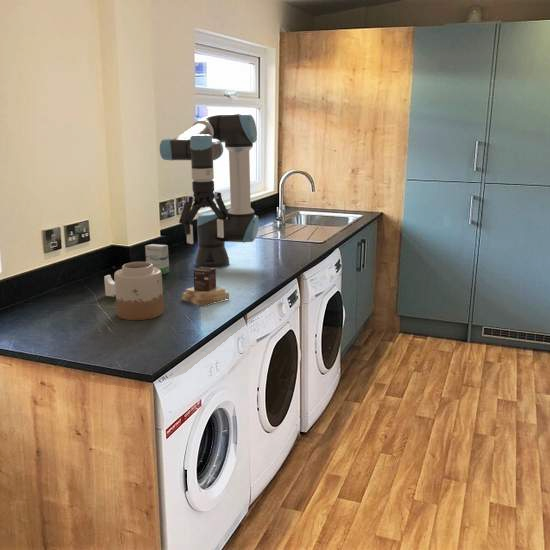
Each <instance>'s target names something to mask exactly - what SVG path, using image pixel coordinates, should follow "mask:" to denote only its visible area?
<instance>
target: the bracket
mask: <svg viewBox="0 0 550 550" xmlns="http://www.w3.org/2000/svg"><path fill="white" fill-rule="evenodd" d="M103 279H104V290H105V296H106V297H116V292H115V280H113V278H112V276H111V274H107V275H105V276H103Z"/></svg>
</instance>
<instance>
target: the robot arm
mask: <svg viewBox="0 0 550 550" xmlns="http://www.w3.org/2000/svg"><path fill="white" fill-rule="evenodd" d="M257 136H258V130H257V124H256V122H255V119H254V117H253V116H252V115H251V114H250V113H243V112H240V113H214V114H210V115H208V116H205V117H202V118H200V119H198V120H197V121H195V122H194V123H193V124H192V125H191V128H189V129H188V130H186V131H184V132H183V133H181V134H180V135H178V136H176V137H175V138H166V139H164V138H163V139H162V140H161V141H160V143H159V154H160V157H161V158H162V160H164V161H190V163H191V180H192V183H191V185H192V188H191V189H192V193H193V196H191V195H186V196H185V203H184V206H183V208H182V212H181V215H180V218H179V220H178V222H179V224H181V225H183V226H184V234H185V235H186V243H187V244H190V245H194V231H193V230H194V228H193V224H192V223H193V221H194V219H195V217H196V215H197V214H198V211H200V209H203V208H210V209H211V211H209V212H204V213H201V214H199V215H198V216H197V220H196V221H197V222H196V223H197V224H196V227H197V243H198V244H197V245H198V247H197V250H196V251H197V252H196V255H195V259H194V265H195V266H196V267H198V268H199V267H210V268H216V269H218V268H224V267H227V266H228V265H230V258H229V255H228V253H227V248H226V245H225V244H226V243H225V242H227V243H229V242H230V243H252V242H254V241H255V240H256V238H257V235H258V231H259V224H260V222H259V221H260V219H259V216H258V215H256V214H255V210H254V209H253V208H252V207H251V206H252V205H251V202H252V201H251V173H250V172H251V169H250V168H251V167H250V166H251V165H250V161H251V159H250V151H251V149H252V148H253V147H254V146H253V145H254V143H256V142H257V140H258V139H257V138H258V137H257ZM223 143H224V146H223ZM224 147H225V149H226V150H227V151H228V159H229V160H228V161H229V162H228V163H229V165H228V166H229V194H230V208H229V209H228V210H227V207H226V205H225V203H224V200H223V199H222V193H221V192H219V191H218V192H217V191H215V181H214V177H215V176H214V175H215V174H214V173H215V172H214V161H216V160H218V159H219V158H220V157H222V155H223V153H224ZM214 200H215V201H214Z"/></svg>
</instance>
